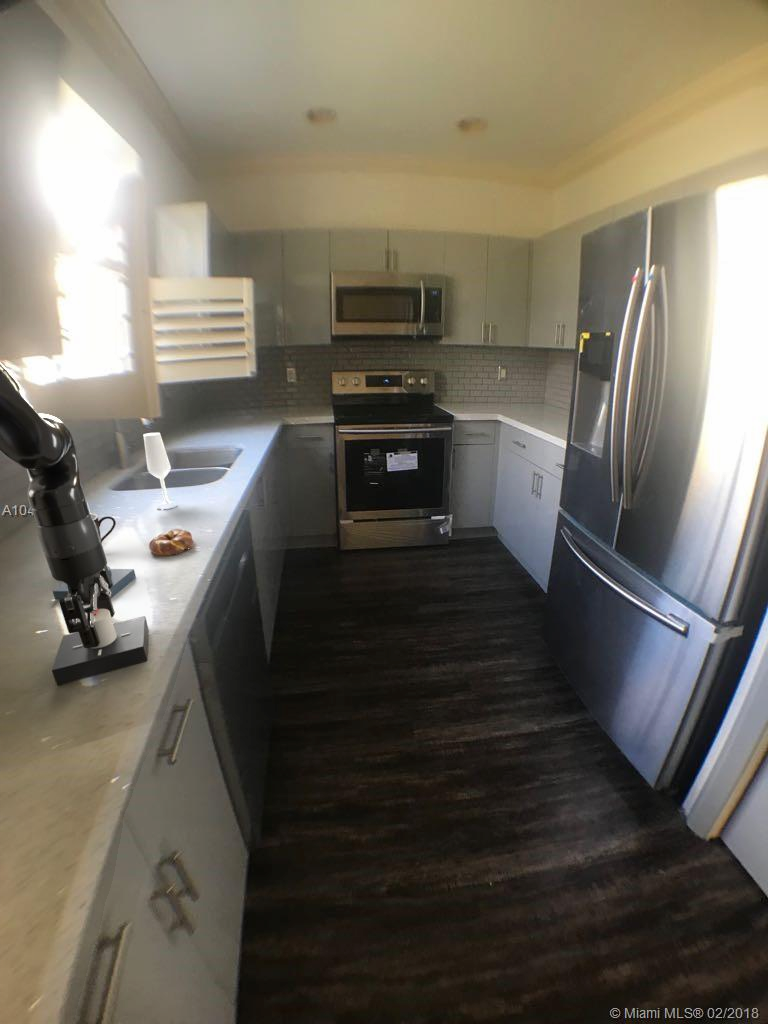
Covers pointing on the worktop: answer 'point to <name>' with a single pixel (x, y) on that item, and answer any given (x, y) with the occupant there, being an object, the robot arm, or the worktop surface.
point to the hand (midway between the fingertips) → (100, 630)
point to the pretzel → (171, 542)
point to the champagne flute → (157, 459)
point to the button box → (117, 576)
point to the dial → (104, 627)
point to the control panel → (102, 652)
